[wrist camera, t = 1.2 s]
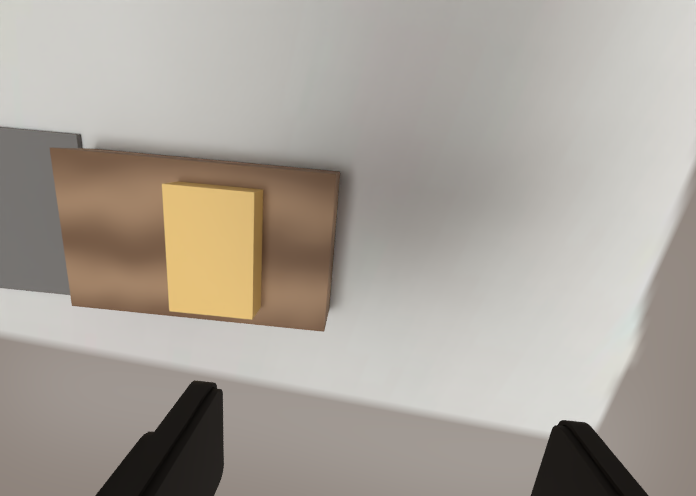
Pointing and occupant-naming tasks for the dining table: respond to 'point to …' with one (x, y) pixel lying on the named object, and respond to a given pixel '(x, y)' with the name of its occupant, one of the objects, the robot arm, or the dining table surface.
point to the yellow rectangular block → (213, 248)
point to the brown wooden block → (149, 235)
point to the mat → (31, 212)
